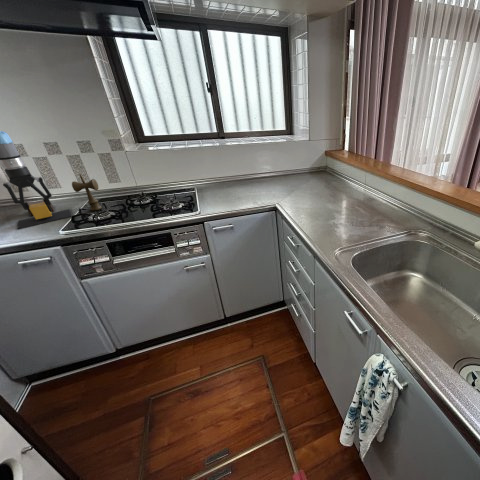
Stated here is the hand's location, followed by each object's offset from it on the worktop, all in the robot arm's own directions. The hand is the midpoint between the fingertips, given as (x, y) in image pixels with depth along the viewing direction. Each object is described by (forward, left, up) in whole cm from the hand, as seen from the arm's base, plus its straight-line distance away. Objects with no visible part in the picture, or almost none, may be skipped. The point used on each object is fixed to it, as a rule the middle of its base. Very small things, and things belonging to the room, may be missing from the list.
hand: (42, 213), depth 135 cm
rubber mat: (0, 0, -3) cm, 3 cm away
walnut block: (-1, +14, -3) cm, 14 cm away
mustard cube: (0, 0, -2) cm, 2 cm away
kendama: (+21, -4, -4) cm, 22 cm away
